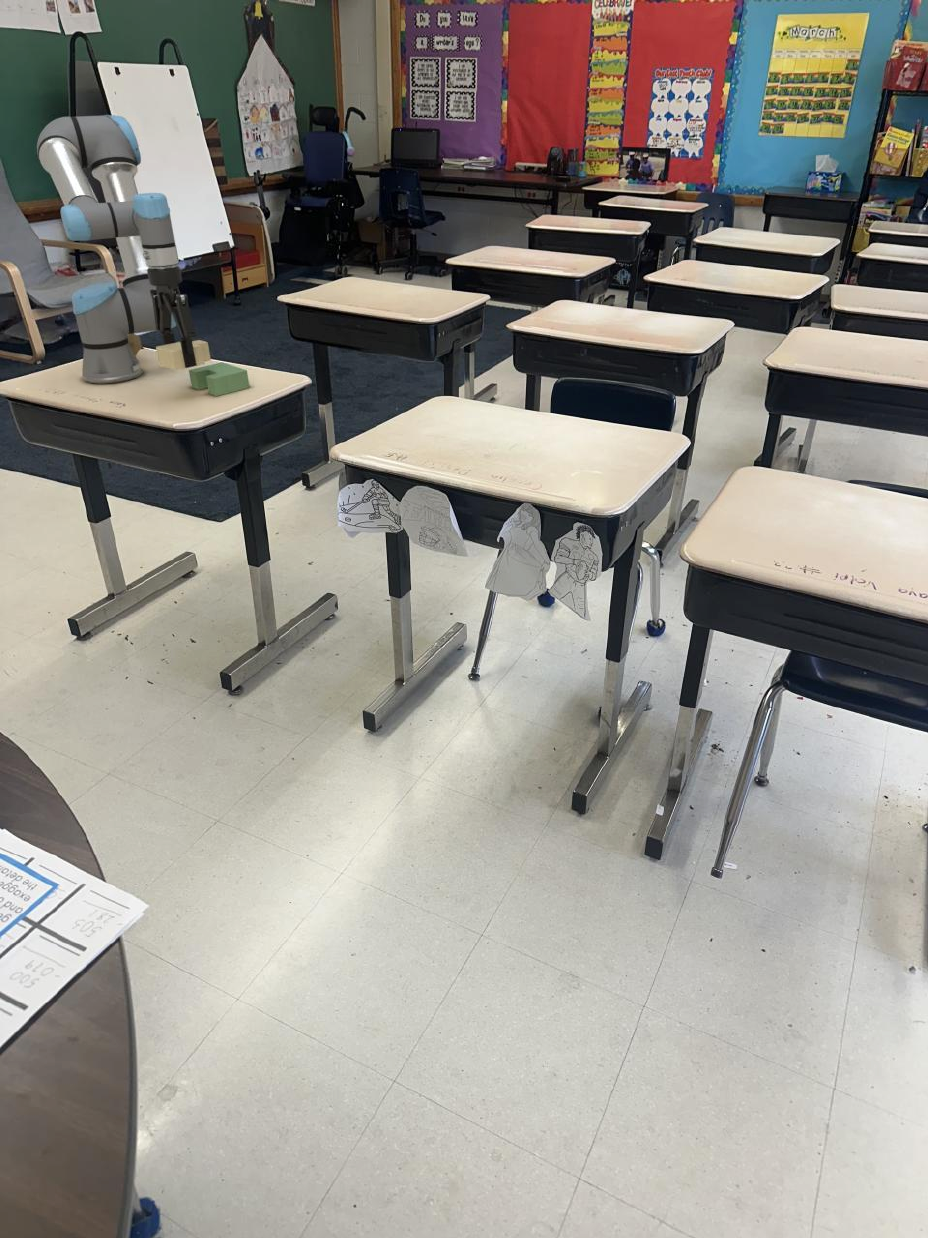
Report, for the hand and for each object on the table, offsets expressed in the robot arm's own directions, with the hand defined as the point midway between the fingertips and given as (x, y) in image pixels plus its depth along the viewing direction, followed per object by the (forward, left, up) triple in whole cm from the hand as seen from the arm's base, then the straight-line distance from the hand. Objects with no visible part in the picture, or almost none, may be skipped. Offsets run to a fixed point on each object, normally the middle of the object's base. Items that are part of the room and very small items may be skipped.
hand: (181, 363), depth 214 cm
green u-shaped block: (0, +10, -8) cm, 13 cm away
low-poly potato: (-46, +6, -8) cm, 47 cm away
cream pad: (0, +1, 0) cm, 1 cm away
